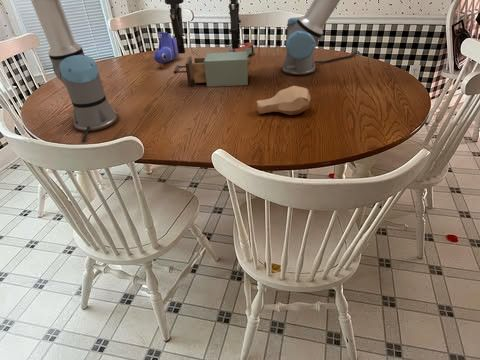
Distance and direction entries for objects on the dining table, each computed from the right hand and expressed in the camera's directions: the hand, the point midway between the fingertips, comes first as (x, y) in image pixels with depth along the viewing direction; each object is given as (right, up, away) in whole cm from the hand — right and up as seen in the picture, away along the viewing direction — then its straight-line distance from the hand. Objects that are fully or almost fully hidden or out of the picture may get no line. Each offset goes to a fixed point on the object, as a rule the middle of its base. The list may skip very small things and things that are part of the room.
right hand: (236, 43), depth 151 cm
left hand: (-24, -3, +3) cm, 24 cm away
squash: (+18, -33, -19) cm, 42 cm away
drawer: (-16, -13, +10) cm, 22 cm away
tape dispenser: (+2, +6, +36) cm, 36 cm away
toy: (-37, +3, +35) cm, 51 cm away
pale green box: (-4, -13, +10) cm, 17 cm away
